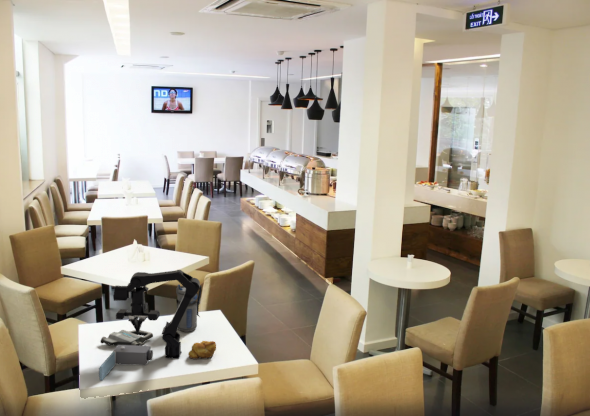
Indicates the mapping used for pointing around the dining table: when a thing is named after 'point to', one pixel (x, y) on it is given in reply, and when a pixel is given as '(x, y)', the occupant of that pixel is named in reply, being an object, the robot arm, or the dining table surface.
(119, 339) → the camcorder
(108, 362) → the side door
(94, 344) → the dining table surface
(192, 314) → the beverage bottle
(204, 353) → the bread roll
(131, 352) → the grey block with knob
